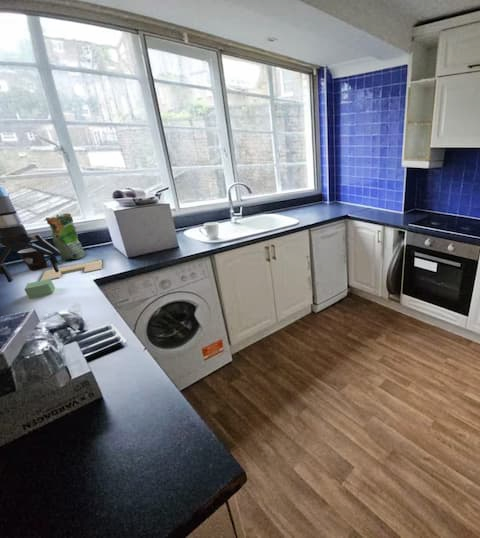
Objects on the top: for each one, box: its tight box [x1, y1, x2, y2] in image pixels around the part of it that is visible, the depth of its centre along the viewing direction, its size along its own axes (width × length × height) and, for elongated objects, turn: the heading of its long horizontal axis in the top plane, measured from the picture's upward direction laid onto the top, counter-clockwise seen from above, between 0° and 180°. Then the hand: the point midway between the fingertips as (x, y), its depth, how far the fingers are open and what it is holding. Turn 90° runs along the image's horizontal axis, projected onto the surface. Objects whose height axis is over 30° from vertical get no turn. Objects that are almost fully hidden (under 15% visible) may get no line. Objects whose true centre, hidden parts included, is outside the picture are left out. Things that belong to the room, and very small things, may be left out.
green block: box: [23, 279, 56, 300], centre depth 123 cm, size 7×7×6 cm
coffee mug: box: [17, 247, 50, 271], centre depth 151 cm, size 12×9×10 cm
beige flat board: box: [39, 259, 103, 281], centre depth 147 cm, size 22×16×1 cm
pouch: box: [44, 212, 87, 261], centre depth 161 cm, size 11×12×25 cm
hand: (35, 276), depth 121 cm, fingers open, 13 cm apart
